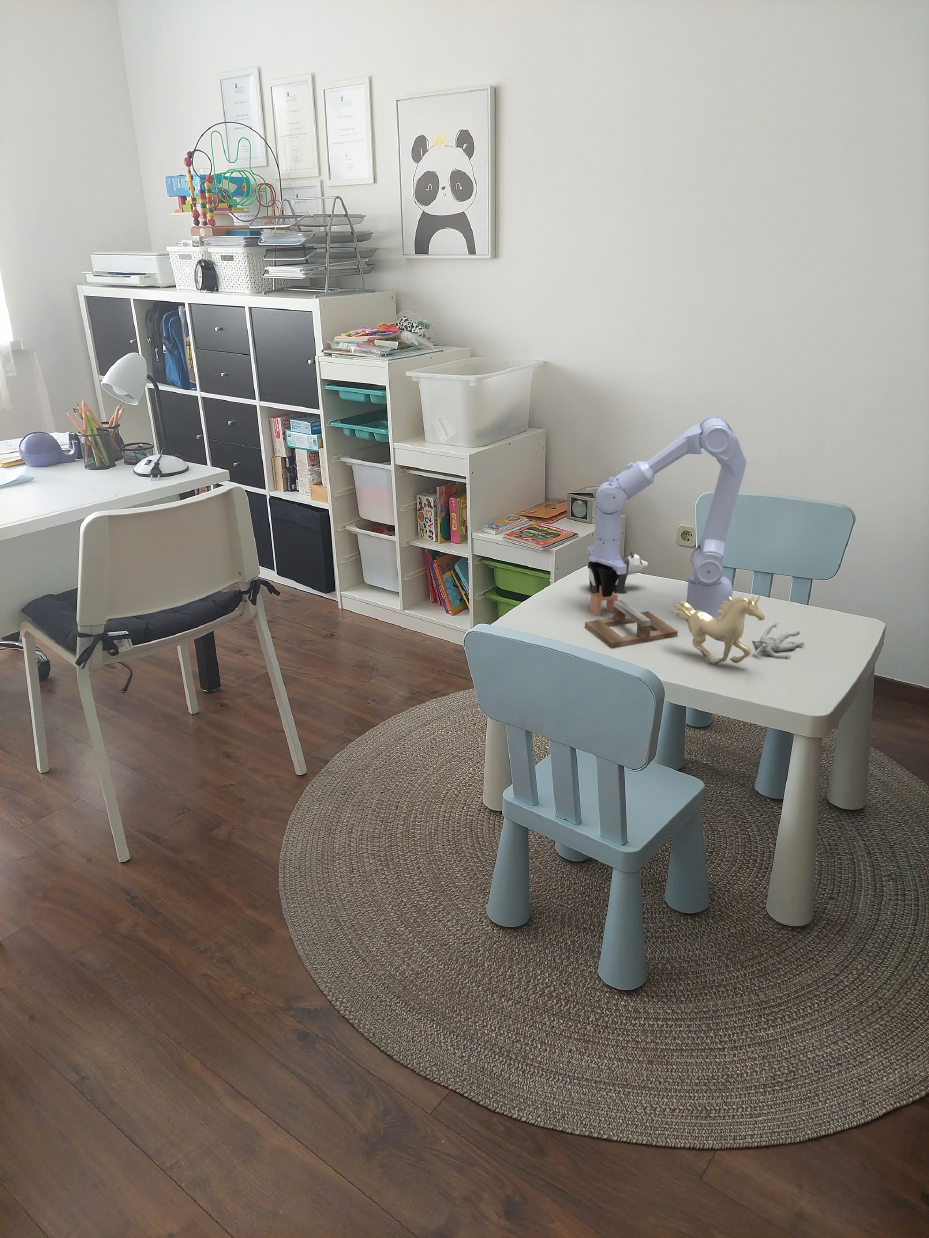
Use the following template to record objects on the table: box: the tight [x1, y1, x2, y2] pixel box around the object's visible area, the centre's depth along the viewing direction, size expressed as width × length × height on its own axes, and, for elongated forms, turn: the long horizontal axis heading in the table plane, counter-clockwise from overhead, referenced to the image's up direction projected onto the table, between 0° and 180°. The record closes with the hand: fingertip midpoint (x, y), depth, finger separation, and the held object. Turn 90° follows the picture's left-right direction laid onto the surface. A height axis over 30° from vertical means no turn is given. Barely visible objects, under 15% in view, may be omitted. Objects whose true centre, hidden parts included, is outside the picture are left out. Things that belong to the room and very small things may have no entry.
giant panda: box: [587, 551, 649, 594], centre depth 215 cm, size 15×6×10 cm, turn 94°
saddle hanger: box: [589, 585, 619, 617], centre depth 203 cm, size 5×3×6 cm, turn 111°
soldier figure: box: [751, 622, 805, 659], centre depth 184 cm, size 8×5×12 cm
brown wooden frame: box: [584, 599, 679, 649], centre depth 193 cm, size 16×12×5 cm
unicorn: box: [670, 593, 766, 665], centre depth 177 cm, size 20×4×17 cm, turn 47°
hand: (604, 593), depth 203 cm, fingers closed on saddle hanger, 2 cm apart
